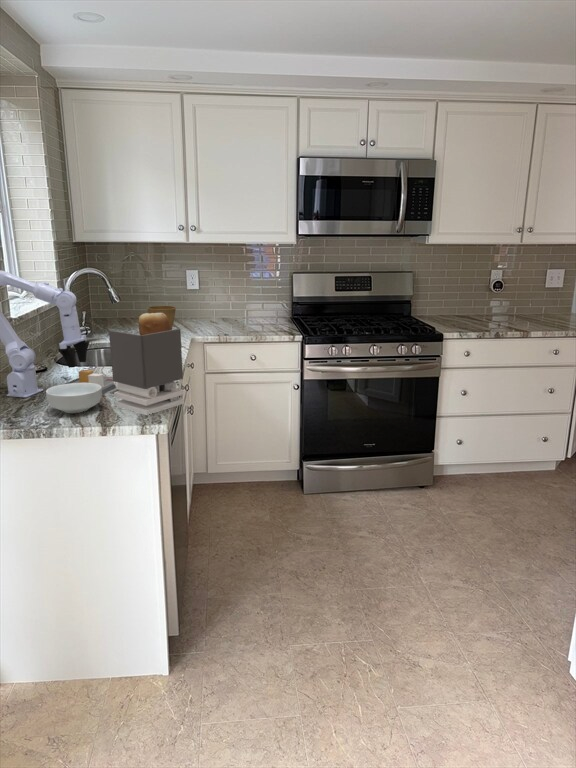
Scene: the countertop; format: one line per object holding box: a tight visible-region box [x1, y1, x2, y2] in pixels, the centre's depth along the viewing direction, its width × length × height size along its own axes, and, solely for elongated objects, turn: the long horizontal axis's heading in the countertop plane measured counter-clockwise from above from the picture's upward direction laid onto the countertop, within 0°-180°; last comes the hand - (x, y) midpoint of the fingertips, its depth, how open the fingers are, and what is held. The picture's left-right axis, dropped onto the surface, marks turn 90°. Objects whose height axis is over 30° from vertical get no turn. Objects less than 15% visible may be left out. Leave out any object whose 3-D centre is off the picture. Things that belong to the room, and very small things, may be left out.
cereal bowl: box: [45, 383, 103, 414], centre depth 180 cm, size 17×17×7 cm
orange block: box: [78, 369, 94, 383], centre depth 205 cm, size 3×4×4 cm
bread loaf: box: [138, 312, 170, 335], centre depth 221 cm, size 14×13×25 cm
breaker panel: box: [73, 373, 116, 395], centre depth 206 cm, size 21×16×6 cm
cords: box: [65, 377, 119, 395], centre depth 210 cm, size 19×22×1 cm
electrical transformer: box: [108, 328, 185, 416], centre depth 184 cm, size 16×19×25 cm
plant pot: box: [146, 305, 176, 330], centre depth 304 cm, size 15×15×16 cm
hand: (77, 364), depth 200 cm, fingers open, 7 cm apart
